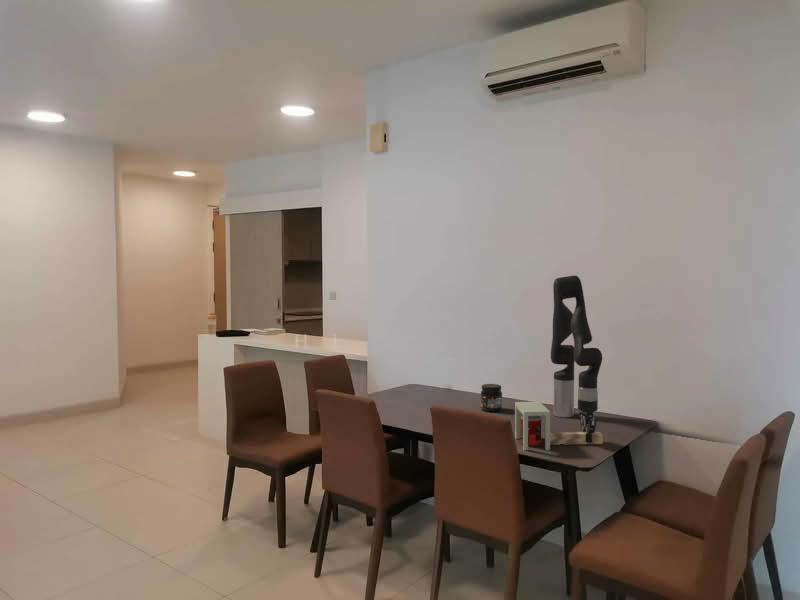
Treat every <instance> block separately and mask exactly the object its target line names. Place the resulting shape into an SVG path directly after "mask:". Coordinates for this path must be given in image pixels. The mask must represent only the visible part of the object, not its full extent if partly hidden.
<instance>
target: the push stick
mask: <svg viewBox="0 0 800 600" xmlns="http://www.w3.org/2000/svg"><path fill="white" fill-rule="evenodd" d="M603 437H604V436H603V433H602V432H601V431H595V432H594V433H592V442H591V443H587V442H586V432H583V431H563V432H559V431H558V432H557V431H556V432H551V431H550V446H554V445H555V446H557V445H560V444H564V445H603Z"/></svg>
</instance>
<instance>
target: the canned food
mask: <svg viewBox="0 0 800 600" xmlns="http://www.w3.org/2000/svg"><path fill="white" fill-rule="evenodd" d="M520 431H521V439H520V443H521V445H522V444H523V415H522V416H521V420H520ZM541 443H542V416H528V448H529V447H530V448H533V447H534V448H536V447H539V446H541Z"/></svg>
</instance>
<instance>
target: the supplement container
mask: <svg viewBox="0 0 800 600" xmlns="http://www.w3.org/2000/svg"><path fill="white" fill-rule="evenodd" d="M502 409H503V391H502V385H500V384H498V383H485V384H484V383H483V384H482V385H481V391H480V410H482V411H483V410H484V411H483V412H486V411H492V412H491V413H497V412H496V411H498V412H501V411H502Z"/></svg>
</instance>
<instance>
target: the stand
mask: <svg viewBox="0 0 800 600" xmlns="http://www.w3.org/2000/svg"><path fill="white" fill-rule="evenodd" d="M514 406H515V407H514V419H515V420H514V422H515V423H514V431H515V432H514V433H515V434H514V437H515V438H514V439H515V440H521V439H520V438H521V431H520V420H521V416H522V415H523V445H522V450H523V451H524V450H525V451H526V450H527V451H528V450H529V446H528V416H540V417H542V416H544V449H546V451H551V445H550V432H551V411H550V410H549V409H548V408H547V407H546V406H545V405H544V404H543V403H542V402H540V401H515V403H514ZM525 451H524V452H525Z"/></svg>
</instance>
